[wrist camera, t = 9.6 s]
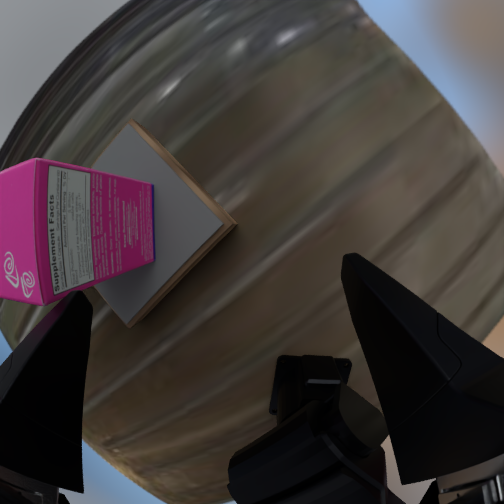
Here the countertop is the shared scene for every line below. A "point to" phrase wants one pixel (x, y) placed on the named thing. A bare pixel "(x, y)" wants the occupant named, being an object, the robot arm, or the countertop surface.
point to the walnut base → (160, 222)
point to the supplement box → (70, 229)
